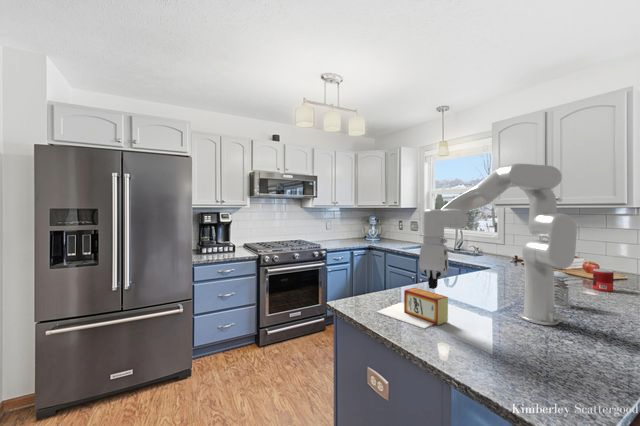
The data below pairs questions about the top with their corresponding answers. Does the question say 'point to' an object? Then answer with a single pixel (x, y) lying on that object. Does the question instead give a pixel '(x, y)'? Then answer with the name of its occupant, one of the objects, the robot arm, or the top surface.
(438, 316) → the baking soda box
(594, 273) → the canned food
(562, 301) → the french press
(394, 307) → the mat
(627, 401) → the top surface
